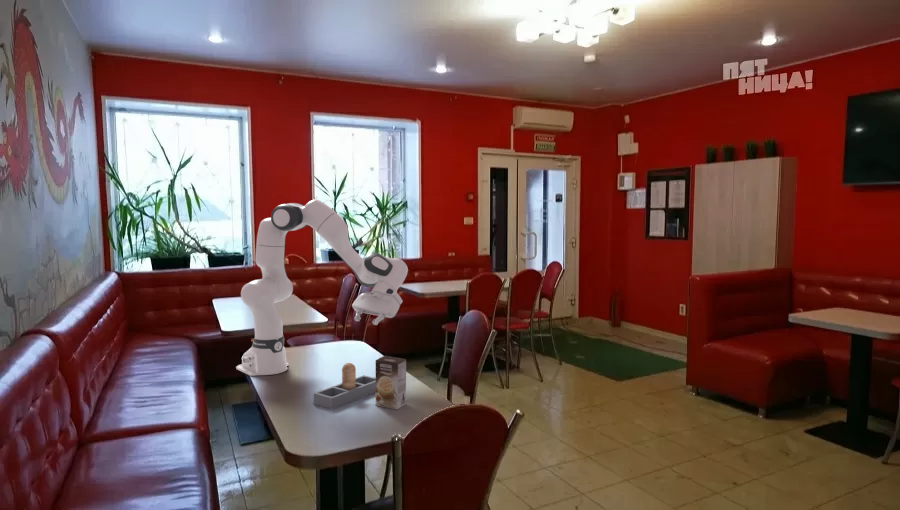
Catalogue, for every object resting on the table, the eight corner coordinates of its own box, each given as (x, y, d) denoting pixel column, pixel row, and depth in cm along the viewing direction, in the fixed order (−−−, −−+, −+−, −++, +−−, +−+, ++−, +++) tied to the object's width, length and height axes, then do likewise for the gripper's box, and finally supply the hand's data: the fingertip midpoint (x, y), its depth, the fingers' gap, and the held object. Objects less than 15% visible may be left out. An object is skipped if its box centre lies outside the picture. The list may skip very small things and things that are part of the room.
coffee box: (374, 405, 184) (374, 359, 182) (384, 400, 189) (384, 355, 188) (397, 410, 180) (397, 363, 179) (407, 403, 186) (406, 358, 184)
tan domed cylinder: (339, 394, 192) (339, 363, 192) (349, 391, 196) (348, 360, 195) (349, 397, 190) (348, 365, 189) (358, 393, 194) (358, 362, 193)
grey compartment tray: (313, 403, 185) (313, 393, 185) (363, 384, 206) (363, 375, 206) (332, 409, 180) (331, 398, 180) (381, 389, 201) (381, 379, 201)
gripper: (359, 286, 216) (341, 313, 209) (398, 291, 205) (381, 321, 197) (367, 295, 220) (349, 322, 213) (406, 302, 209) (388, 331, 201)
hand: (365, 322), depth 205 cm, fingers open, 8 cm apart
